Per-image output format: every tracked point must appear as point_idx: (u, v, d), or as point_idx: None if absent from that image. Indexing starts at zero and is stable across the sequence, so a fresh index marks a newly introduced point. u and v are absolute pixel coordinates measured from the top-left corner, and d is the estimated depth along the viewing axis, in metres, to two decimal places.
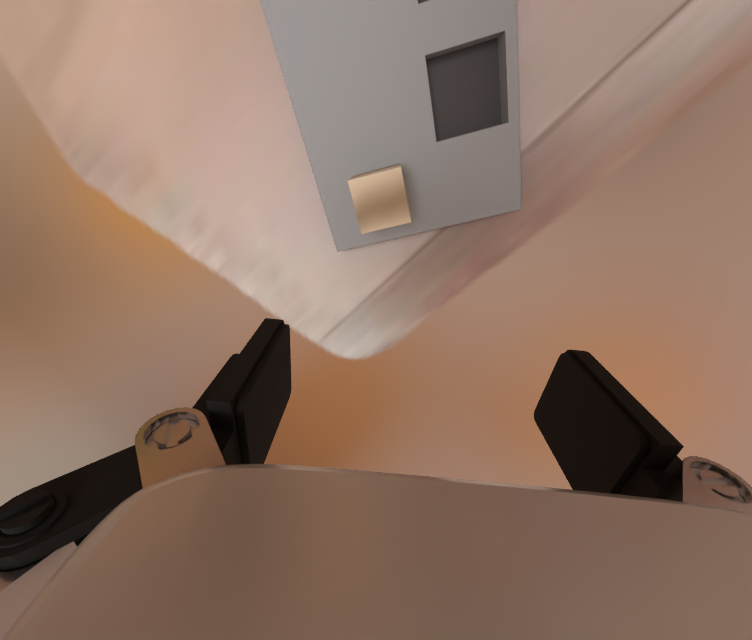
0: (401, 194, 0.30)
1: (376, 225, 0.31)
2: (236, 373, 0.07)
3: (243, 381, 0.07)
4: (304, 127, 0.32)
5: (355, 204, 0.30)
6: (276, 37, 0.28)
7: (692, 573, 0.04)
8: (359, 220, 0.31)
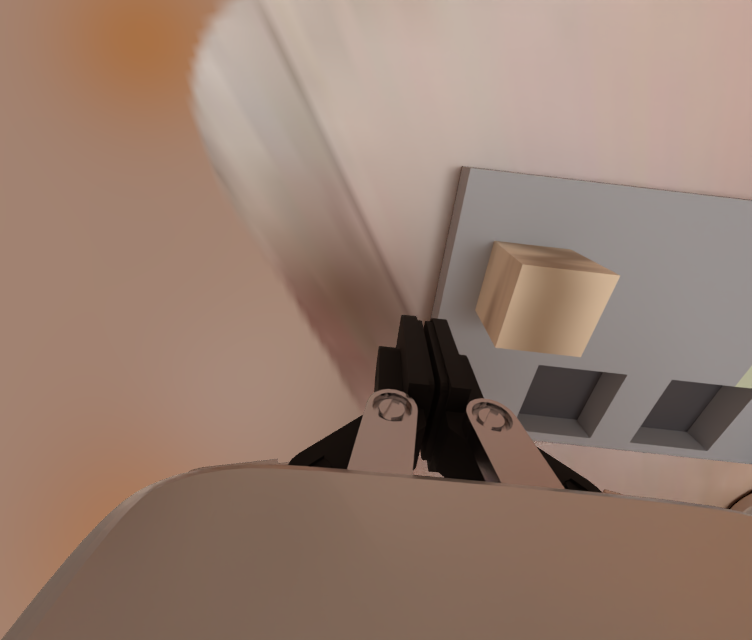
0: (543, 346, 0.18)
1: (521, 295, 0.17)
2: (415, 361, 0.09)
3: (426, 367, 0.09)
4: (681, 202, 0.19)
5: (577, 273, 0.16)
6: None
7: (692, 573, 0.04)
8: (547, 270, 0.16)
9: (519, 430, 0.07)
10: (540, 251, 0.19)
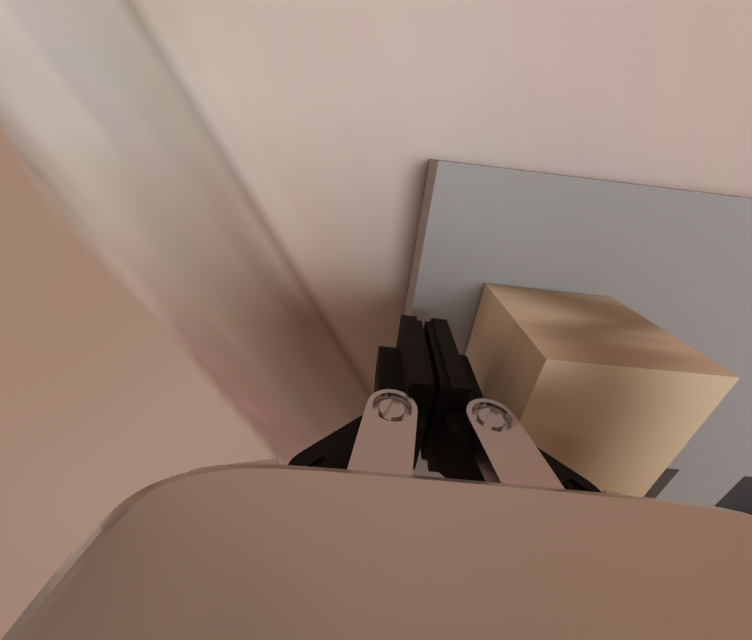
0: None
1: (541, 410, 0.09)
2: (415, 361, 0.09)
3: (426, 367, 0.09)
4: None
5: (654, 375, 0.08)
6: None
7: (692, 573, 0.04)
8: (596, 369, 0.08)
9: (519, 430, 0.07)
10: (566, 307, 0.11)
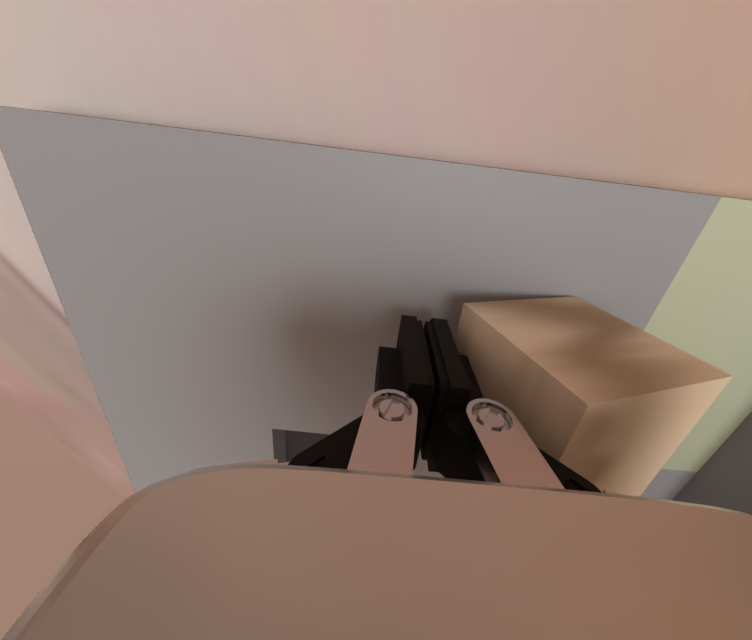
0: None
1: (575, 453, 0.08)
2: (415, 361, 0.09)
3: (426, 367, 0.09)
4: (387, 173, 0.11)
5: (674, 392, 0.08)
6: (596, 195, 0.11)
7: (692, 573, 0.04)
8: (630, 402, 0.07)
9: (519, 430, 0.07)
10: (552, 320, 0.10)
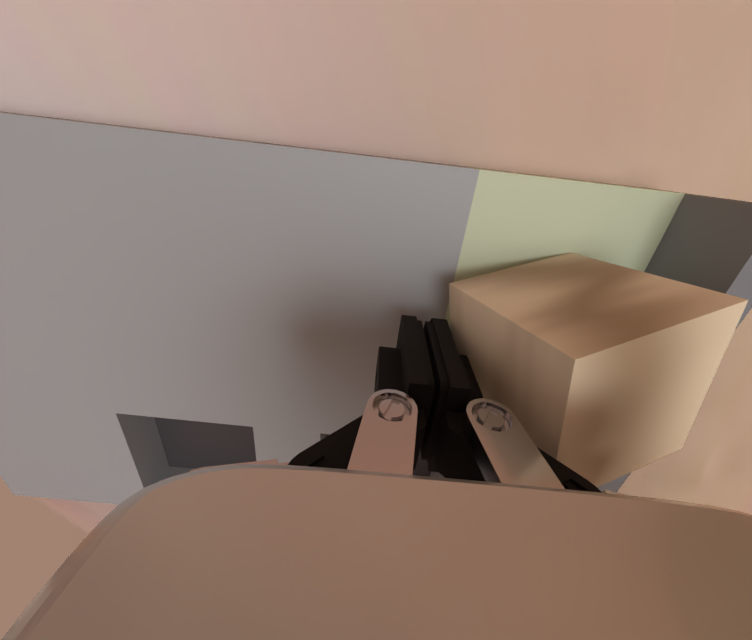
0: (626, 465, 0.09)
1: (580, 413, 0.07)
2: (415, 361, 0.09)
3: (425, 367, 0.09)
4: (143, 148, 0.11)
5: (678, 330, 0.07)
6: (356, 169, 0.11)
7: (692, 573, 0.04)
8: (625, 348, 0.07)
9: (519, 430, 0.07)
10: (542, 281, 0.10)
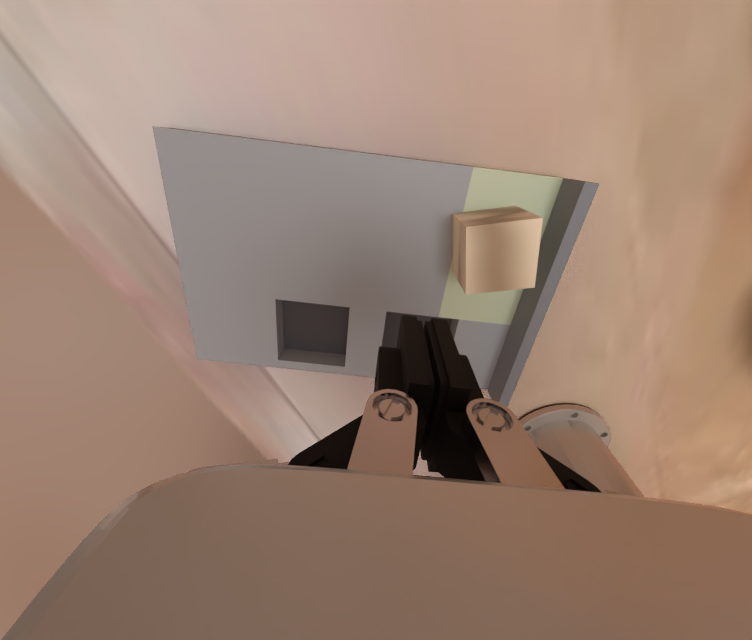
0: (502, 285, 0.23)
1: (472, 249, 0.22)
2: (415, 361, 0.09)
3: (426, 367, 0.09)
4: (326, 156, 0.24)
5: (509, 224, 0.21)
6: (419, 166, 0.24)
7: (692, 573, 0.04)
8: (486, 226, 0.21)
9: (519, 430, 0.07)
10: (487, 213, 0.24)
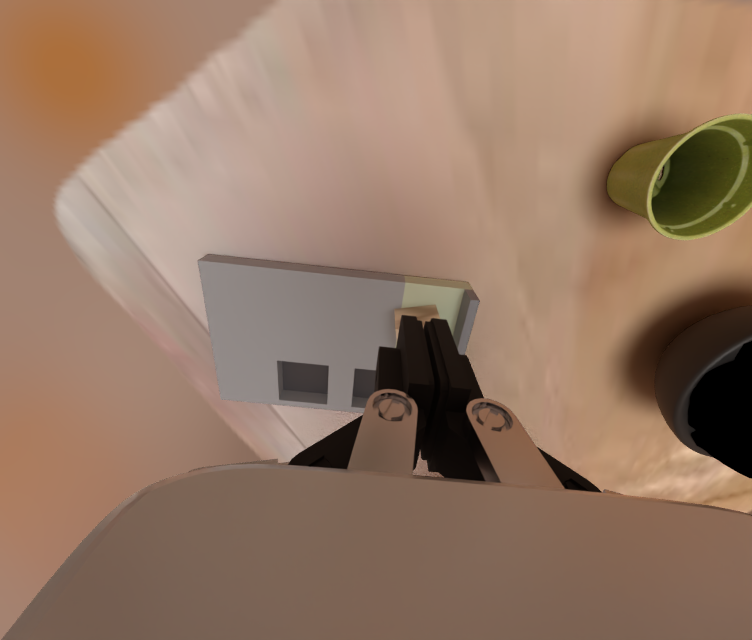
0: None
1: None
2: (415, 361, 0.09)
3: (425, 367, 0.09)
4: (309, 276, 0.37)
5: None
6: (370, 282, 0.37)
7: (692, 573, 0.04)
8: None
9: (519, 430, 0.07)
10: (414, 312, 0.37)
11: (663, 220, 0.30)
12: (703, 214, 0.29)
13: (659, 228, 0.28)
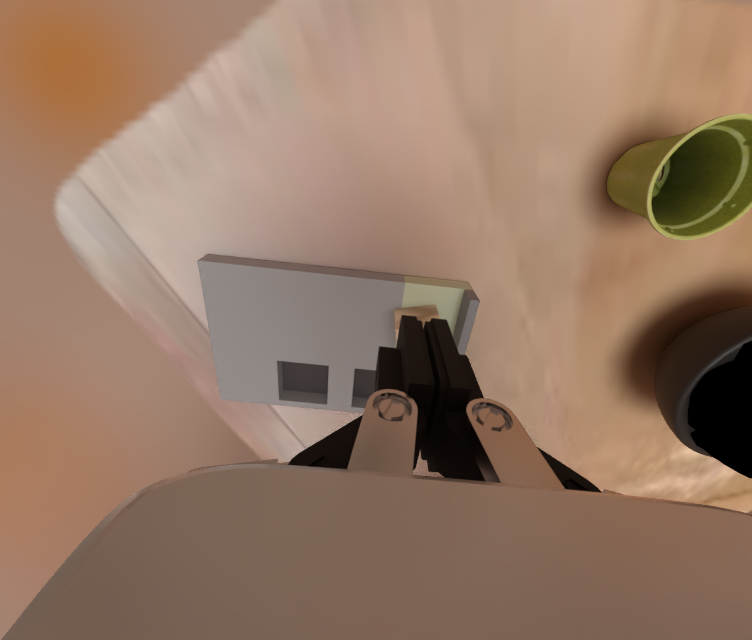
0: None
1: None
2: (415, 361, 0.09)
3: (426, 367, 0.09)
4: (309, 277, 0.37)
5: None
6: (370, 282, 0.37)
7: (692, 573, 0.04)
8: None
9: (519, 430, 0.07)
10: (414, 312, 0.37)
11: (663, 220, 0.30)
12: (703, 214, 0.29)
13: (659, 228, 0.27)
